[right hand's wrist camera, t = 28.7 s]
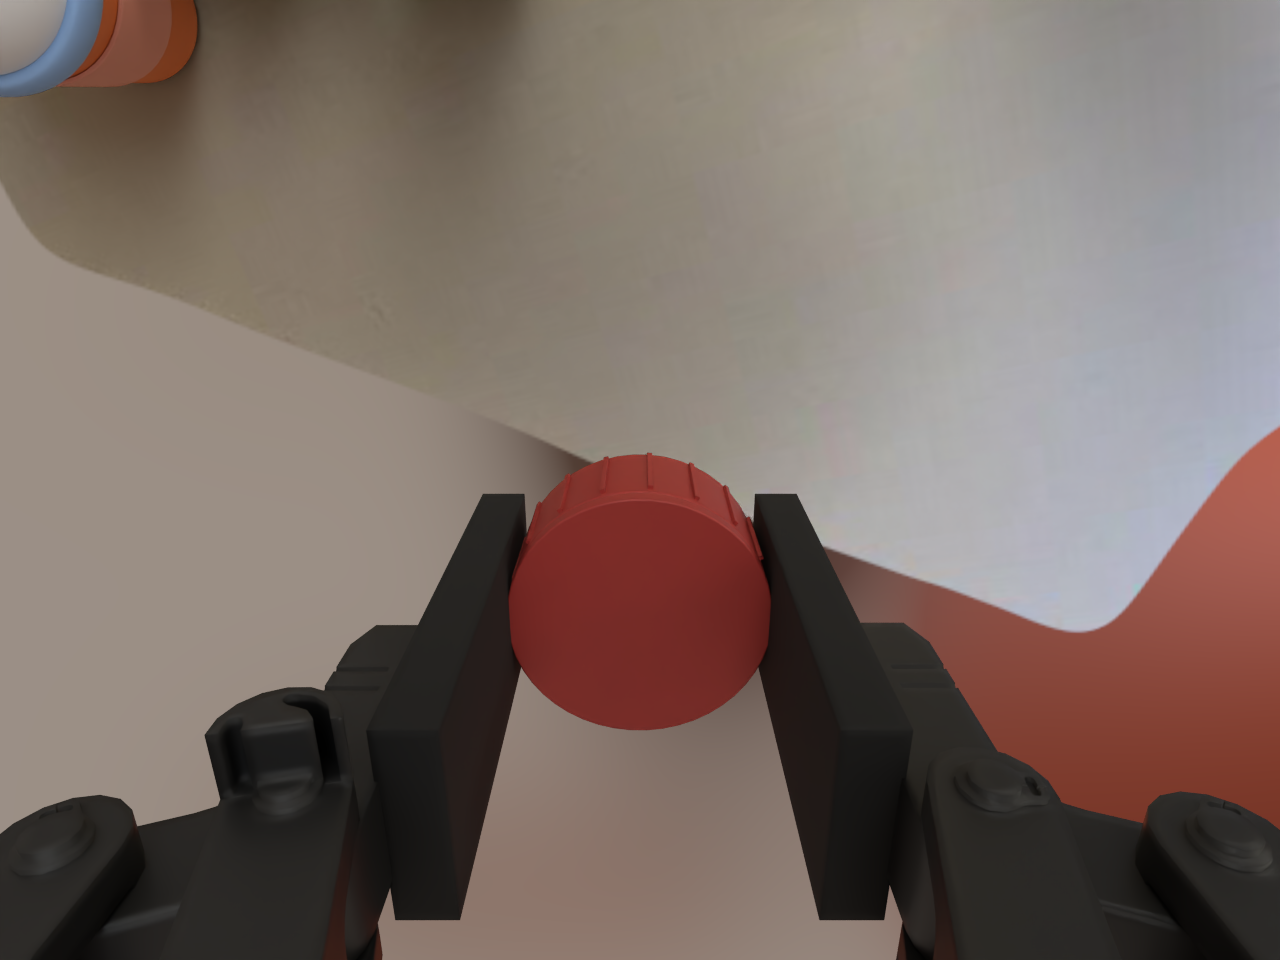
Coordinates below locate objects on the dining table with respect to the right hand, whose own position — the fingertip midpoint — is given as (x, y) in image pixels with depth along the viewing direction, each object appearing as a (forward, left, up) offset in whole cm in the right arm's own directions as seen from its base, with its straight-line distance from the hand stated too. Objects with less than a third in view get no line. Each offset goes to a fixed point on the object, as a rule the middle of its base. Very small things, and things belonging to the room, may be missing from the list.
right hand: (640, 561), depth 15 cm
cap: (0, 0, +2) cm, 2 cm away
